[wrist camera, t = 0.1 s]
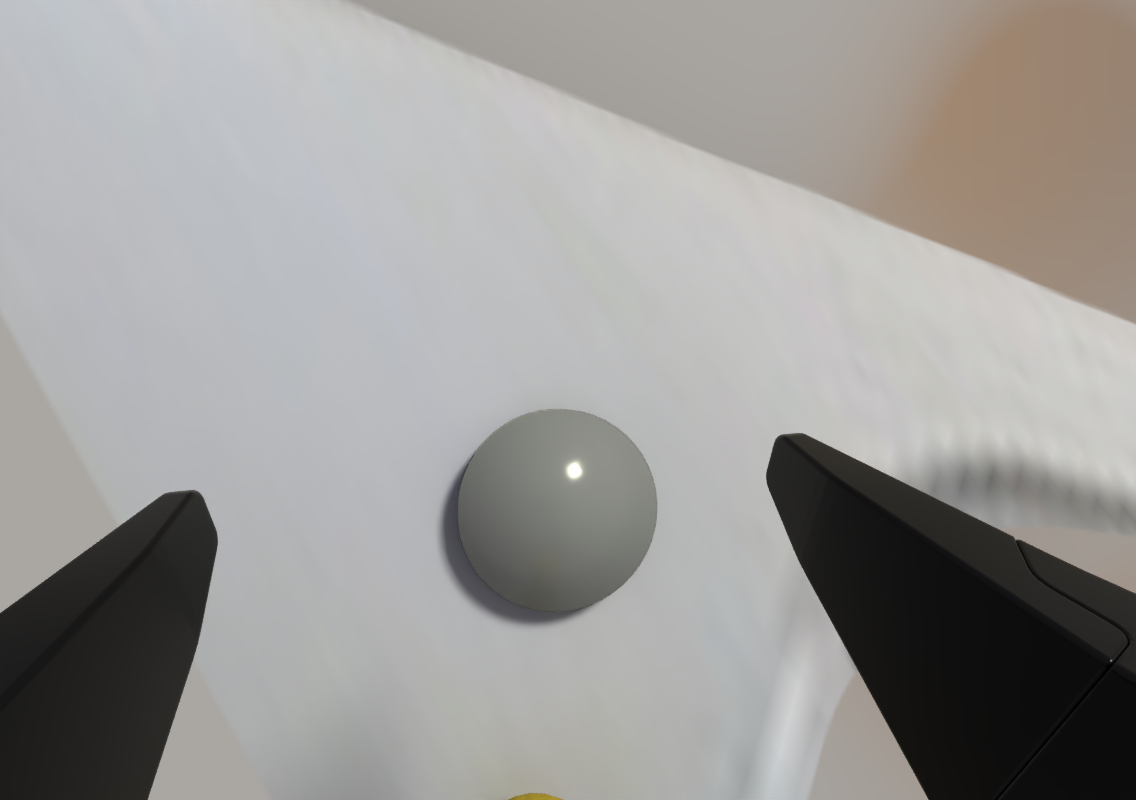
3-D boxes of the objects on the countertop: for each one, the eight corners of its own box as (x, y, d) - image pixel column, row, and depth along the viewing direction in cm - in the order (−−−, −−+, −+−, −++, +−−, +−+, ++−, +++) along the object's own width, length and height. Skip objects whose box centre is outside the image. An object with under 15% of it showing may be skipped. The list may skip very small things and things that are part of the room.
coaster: (683, 530, 26) (692, 535, 25) (526, 642, 24) (529, 652, 23) (585, 372, 25) (590, 370, 24) (418, 479, 24) (416, 483, 23)
